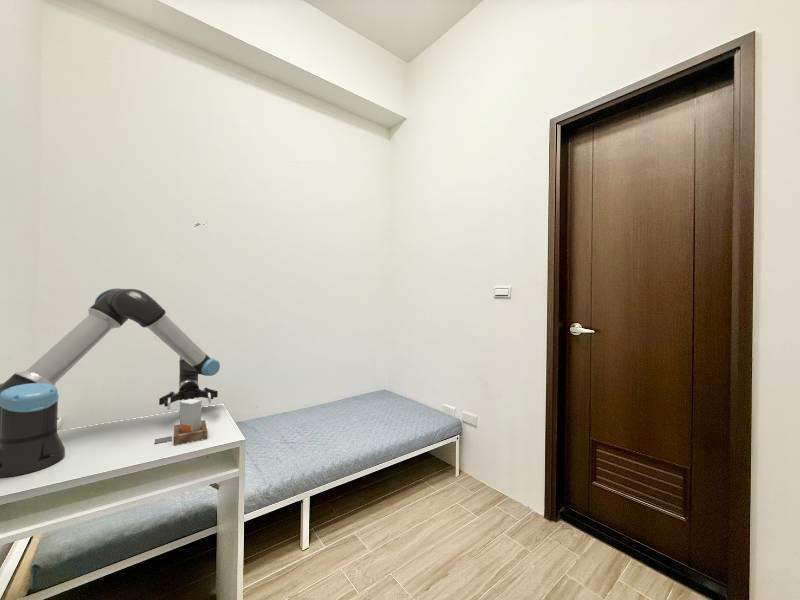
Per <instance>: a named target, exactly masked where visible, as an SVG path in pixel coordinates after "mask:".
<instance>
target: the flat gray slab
mask: <svg viewBox="0 0 800 600" xmlns="http://www.w3.org/2000/svg"><path fill="white" fill-rule="evenodd" d="M167 441H169V442H173V436H171V435H170V436H165V437H160V438H155V439H154V442H153V443H154V445H159V444H162V443H163V442H164V443H168V442H167ZM158 443H159V444H158Z"/></svg>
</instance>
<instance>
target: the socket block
mask: <svg viewBox="0 0 800 600" xmlns="http://www.w3.org/2000/svg"><path fill="white" fill-rule="evenodd" d="M179 431H180V423H179V424H174V426H173V440H172V442H173V445H174V446H177V445H176V444H179V445H183V444H182V443H184V444H188V443H187V442H189V443H193V442H192V441H194V442H198V441H197V440H199V441H202V440H201V439H204V440H207V439H208V429H207V423H206V419H203V420H202V419H201V430H200V431H194V432H189V433H184V434H179ZM206 438H207V439H206Z"/></svg>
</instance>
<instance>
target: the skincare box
mask: <svg viewBox="0 0 800 600" xmlns="http://www.w3.org/2000/svg"><path fill="white" fill-rule="evenodd" d="M202 402H203V401H202V400H201V399H197V398H194V399H187V400H184V399H183V400H180V401H179V424H180V431H179V434H184V433H189V432H194V431H200V430H201V421H202V406H203V405H202Z"/></svg>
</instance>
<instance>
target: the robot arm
mask: <svg viewBox="0 0 800 600" xmlns="http://www.w3.org/2000/svg"><path fill="white" fill-rule="evenodd" d="M87 311H88V315H87V316H86V317H85V318H84V319H82V320H81V321H80V322H79V323H78V324H77V325H75V327H74V328H72V329H71V331H69V332H68V333H67V334H66V335H65V336H63V337H62V338H61V339H60V340H59V341H58V342H57V343H55V345H54V346H52V347H51V348H50V349H49V350H48V351H47V352H45V353H44V354H43V355H42V356H41V357H40V358H39V359H38V360H36V361H35V362H34V363H33V364H32V365H31V366H29V368H27V369H26V370H24V371H18V372H15V373H14V374H12V375H11V376H10V377H9V378H8V379H7V380H5V382H3V383H0V478H8V477H9V478H10V477H17V476H20V475H26V474H30V473H33V472H36V471H39V470H43V469H45V468H48V467H51V466H52V465H55V464H57V463H59V462H60V461H62V460H63V459H64V458H65V456H66V447H65V446H64V444H63V442H62V440H61V438H60V435H59V433H58V410H59V409H58V406H59V405H58V404H59V403H58V402H59V394H58V393H59V392H58V388H57V387H56V383H57V382H58V381H59V380H60V379H62V378H63V377H65V375H66V374H67V373H68V372H69V371H70V370H71V369H72V368H73V367H74V366H75V365H76V364H77V363H78V362H79V361H80V360H81V359H82V358H83V357H85V356H86V355H87V354H88V352H89V351H91V350H92V349H93V348H94V347H95V346H96V345H97V344H99V342H100V341H101V340H102V339H103V338H104V337H105V336H106V335H108V333H110V331H112V329H118V328H121V327H122V326H123V325H124V324H125V323H126V322H127V321H128V320H131V321H133V322H135V323H137V324H138V325H139V326H140V327H141V328H145V329H146V328H147V329H148V330H150V331H151V332H152V333H153V334H154V335H155V336H156V337H158V339H160V340H161V341H162V342H163V343H164V344H165V345H166V346H168V347H169V349H171V350H172V351H173V352H175V353H176V354H177V355H178V356H179V363H178V364H179V377H178V378H179V379H178V380H179V382H178V392H174V391H170V392H169V393H168V394H165V395H163V396H162V397H160V398H158V399H159V402H158V403H159V404H158V405H159V406H162V405H164V407H167V410H171V404H172V403H175V402H177V401H184V400H187V399H199V398H204V399H207V401H208V405H209V404H212V400H214V398H218V395H219V393H218V392H219V391H218V390H215V389H210V388H208V387H204V388H203V389H200V386H199V375H201V376H205V377H206V376H207V377H208V376H209V377H212V376H215V375H217V374H218V373H219V371H220V368H221V364H220V362H219V361H218V360H217V359H215V358H211V357H210V356H209V355H208V354H207V353H205V351H203V349H202V348H200V347H199V345H197V344H196V343H195V342H194V341H193V340H192V339H191V338H190V337H189V336H188V335H187V334H186V333H185V332H184V331H183V330H181V328H179V326H178V325H177V324H175V322H174V321H172V320H171V319H170V317H168V316H167V311H166V310H165V309H164V308H163V307H162V306H161V305H160V304H159V303H158V302H157V301H156V300H155V299H154V298H153V297H151V296H150V295H149V294H147V293H146V292H144V291H142V290H139V289H136V288H111V289H107V290H104V291H102V292H101V293H99V294H98V295H97V297H96V298H95V300H94V303H93V304H92V306H90V307H89V308H88V309H87Z"/></svg>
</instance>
